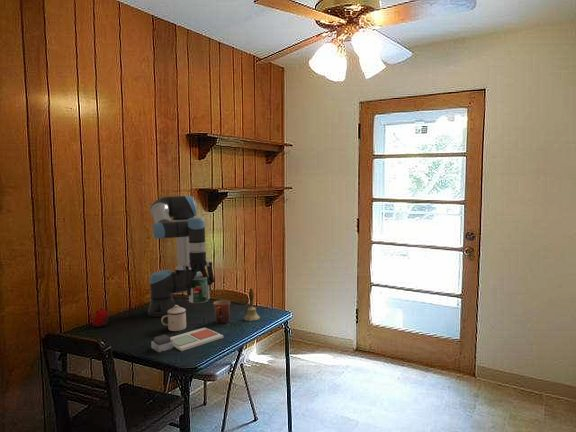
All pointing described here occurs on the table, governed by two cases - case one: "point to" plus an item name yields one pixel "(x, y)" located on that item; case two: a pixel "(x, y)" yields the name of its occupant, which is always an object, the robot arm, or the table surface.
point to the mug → (222, 311)
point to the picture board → (195, 338)
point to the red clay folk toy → (100, 317)
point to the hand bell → (251, 309)
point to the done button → (162, 339)
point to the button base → (162, 346)
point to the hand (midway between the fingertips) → (199, 300)
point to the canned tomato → (200, 289)
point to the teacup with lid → (176, 318)
